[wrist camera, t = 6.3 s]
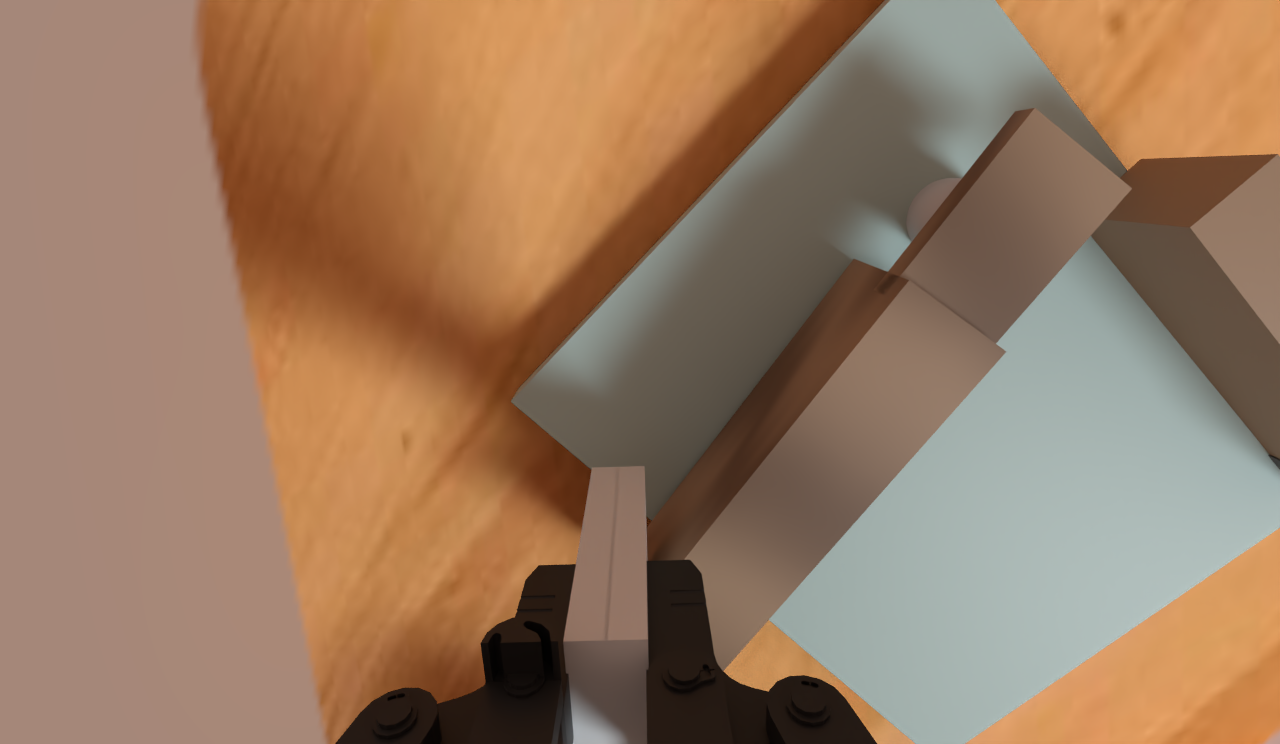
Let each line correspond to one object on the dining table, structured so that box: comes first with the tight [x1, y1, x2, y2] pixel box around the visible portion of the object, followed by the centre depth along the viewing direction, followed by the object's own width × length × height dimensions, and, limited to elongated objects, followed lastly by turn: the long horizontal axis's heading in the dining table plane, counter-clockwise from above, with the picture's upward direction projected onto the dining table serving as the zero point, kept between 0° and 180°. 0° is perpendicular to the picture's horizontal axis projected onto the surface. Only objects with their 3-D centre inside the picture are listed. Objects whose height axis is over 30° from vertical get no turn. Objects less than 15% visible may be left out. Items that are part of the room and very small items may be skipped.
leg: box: [647, 108, 1132, 671], centre depth 16 cm, size 16×3×4 cm, turn 146°
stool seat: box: [511, 0, 1280, 744], centre depth 17 cm, size 16×20×5 cm
